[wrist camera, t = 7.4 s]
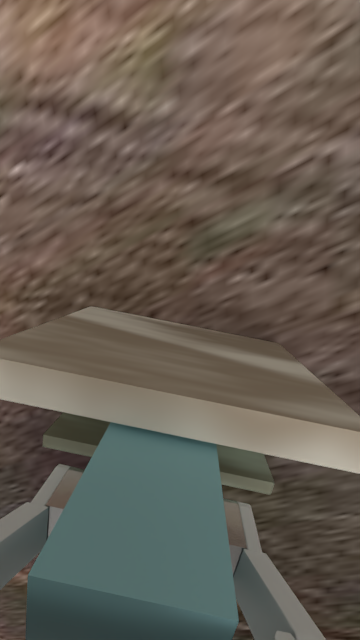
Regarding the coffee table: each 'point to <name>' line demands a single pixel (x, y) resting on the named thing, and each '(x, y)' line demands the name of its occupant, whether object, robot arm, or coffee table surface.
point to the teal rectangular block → (138, 547)
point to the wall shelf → (178, 391)
